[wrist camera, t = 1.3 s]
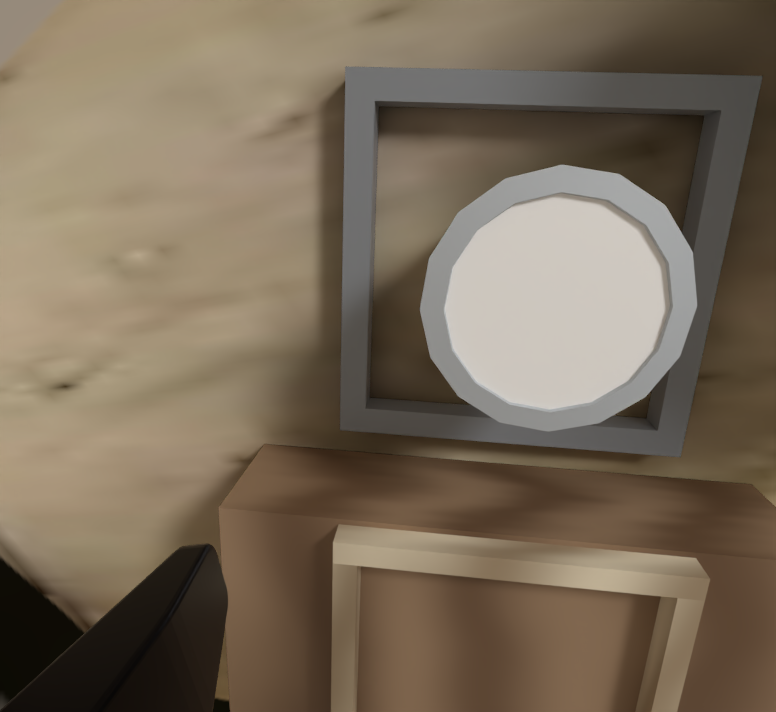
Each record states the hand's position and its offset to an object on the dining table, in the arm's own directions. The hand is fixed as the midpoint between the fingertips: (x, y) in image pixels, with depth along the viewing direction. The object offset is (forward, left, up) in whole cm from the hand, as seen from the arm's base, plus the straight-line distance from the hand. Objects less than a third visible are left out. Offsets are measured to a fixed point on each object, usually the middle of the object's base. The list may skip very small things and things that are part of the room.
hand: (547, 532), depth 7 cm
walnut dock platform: (-1, +12, -14) cm, 19 cm away
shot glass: (-1, -2, -15) cm, 15 cm away
